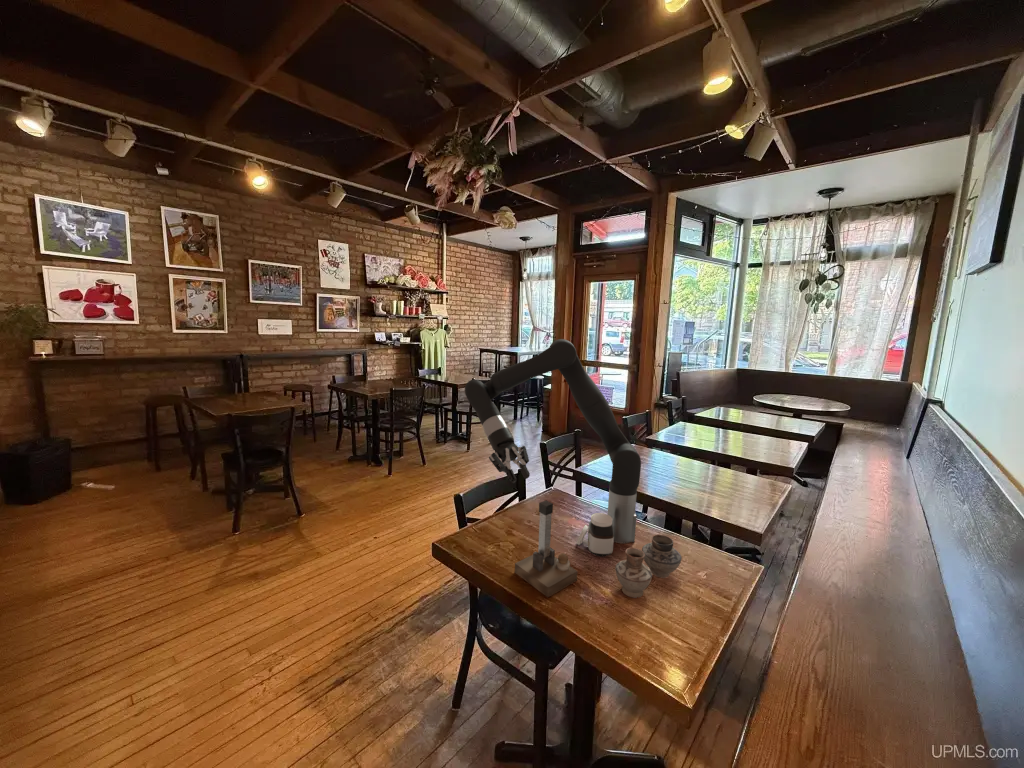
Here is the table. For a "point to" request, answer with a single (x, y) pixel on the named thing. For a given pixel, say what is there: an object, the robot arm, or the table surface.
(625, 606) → the table surface
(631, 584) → the pottery
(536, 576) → the press base
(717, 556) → the table surface
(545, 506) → the lever
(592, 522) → the spread jar
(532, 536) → the table surface
